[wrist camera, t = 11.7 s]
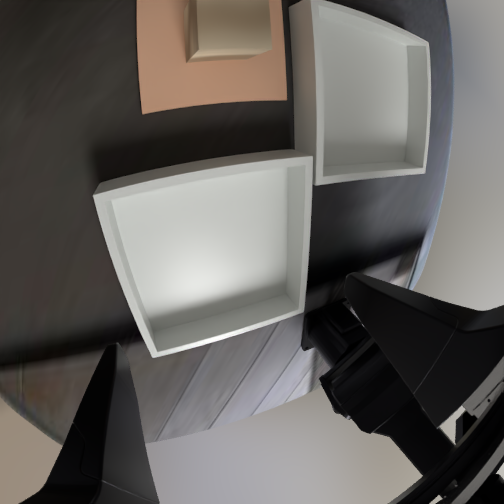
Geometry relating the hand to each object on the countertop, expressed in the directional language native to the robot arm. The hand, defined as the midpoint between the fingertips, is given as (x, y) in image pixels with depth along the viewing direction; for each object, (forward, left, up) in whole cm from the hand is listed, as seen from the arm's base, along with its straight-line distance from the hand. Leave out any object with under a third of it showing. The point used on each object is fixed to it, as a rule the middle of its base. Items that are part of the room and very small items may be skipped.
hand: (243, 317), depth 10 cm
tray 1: (-4, -2, -12) cm, 13 cm away
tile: (+12, -3, -12) cm, 17 cm away
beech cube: (+12, -3, -11) cm, 17 cm away
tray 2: (+8, -16, -12) cm, 22 cm away
